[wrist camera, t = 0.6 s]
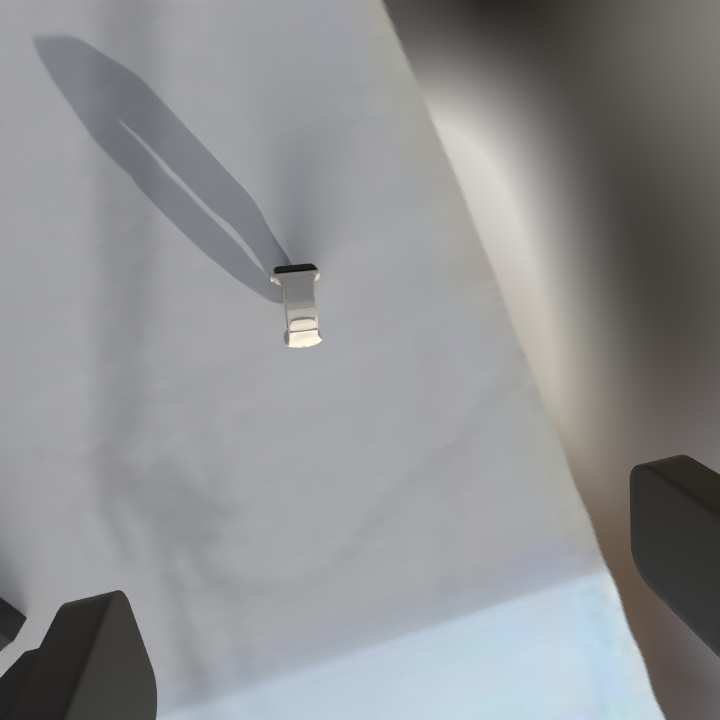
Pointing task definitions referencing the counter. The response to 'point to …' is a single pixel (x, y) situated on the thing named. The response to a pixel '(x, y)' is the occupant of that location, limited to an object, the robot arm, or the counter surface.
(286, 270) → the smartwatch
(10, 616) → the scale
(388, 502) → the counter surface
